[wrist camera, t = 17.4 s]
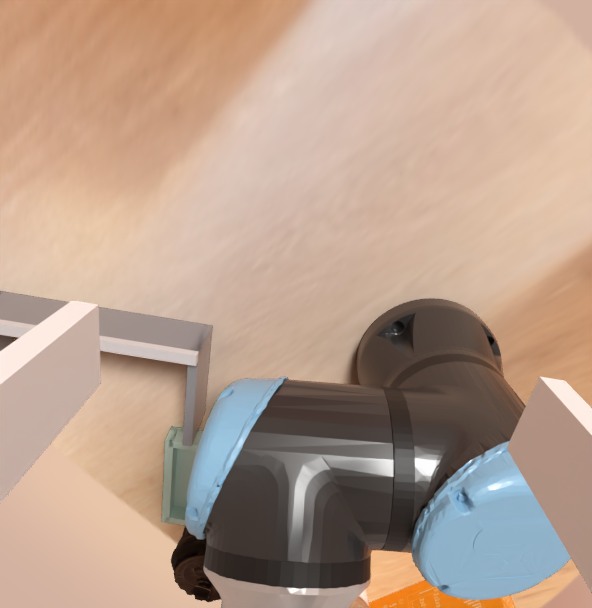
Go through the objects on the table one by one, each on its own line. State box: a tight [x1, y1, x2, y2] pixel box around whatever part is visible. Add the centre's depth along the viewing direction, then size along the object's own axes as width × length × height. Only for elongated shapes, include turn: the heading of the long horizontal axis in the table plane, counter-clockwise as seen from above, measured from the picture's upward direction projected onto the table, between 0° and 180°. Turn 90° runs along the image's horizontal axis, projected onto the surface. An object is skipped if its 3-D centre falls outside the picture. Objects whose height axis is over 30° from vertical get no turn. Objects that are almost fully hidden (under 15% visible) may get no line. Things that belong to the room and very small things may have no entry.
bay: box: [0, 291, 213, 447], centre depth 45 cm, size 24×12×7 cm, turn 81°
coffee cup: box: [171, 526, 221, 602], centre depth 49 cm, size 9×8×13 cm
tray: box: [162, 426, 203, 526], centre depth 54 cm, size 13×14×2 cm
